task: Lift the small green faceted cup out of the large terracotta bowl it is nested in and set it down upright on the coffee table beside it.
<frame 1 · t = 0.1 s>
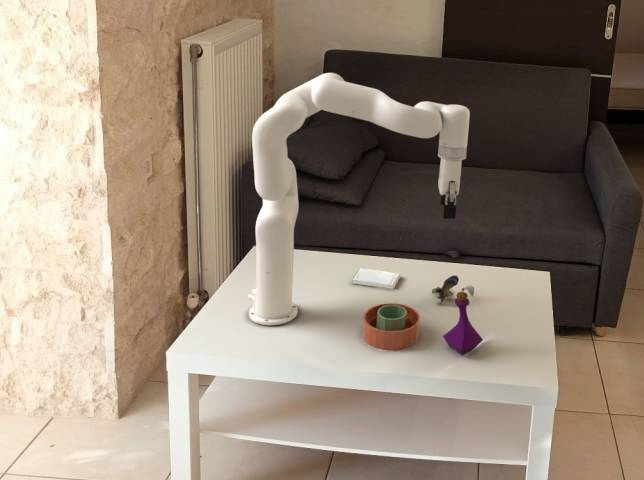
hand: (447, 211, 198), 31 cm above the table, tool pointing down, fingers open, 9 cm apart
terracotta bowl: (390, 336, 192), on the table
hard drive: (376, 281, 221), on the table
eagle figurine: (444, 299, 214), on the table
perfume bottle: (461, 350, 189), on the table
green faceted cup: (390, 334, 192), resting on terracotta bowl
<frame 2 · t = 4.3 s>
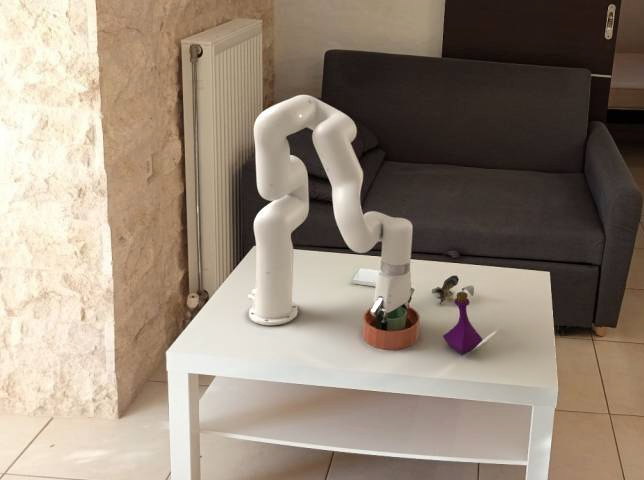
hand: (391, 327, 191), 3 cm above the table, tool pointing down, fingers closed on green faceted cup, 7 cm apart
green faceted cup: (390, 334, 192), point 1 cm above the table, touching gripper, terracotta bowl
everything else where it was.
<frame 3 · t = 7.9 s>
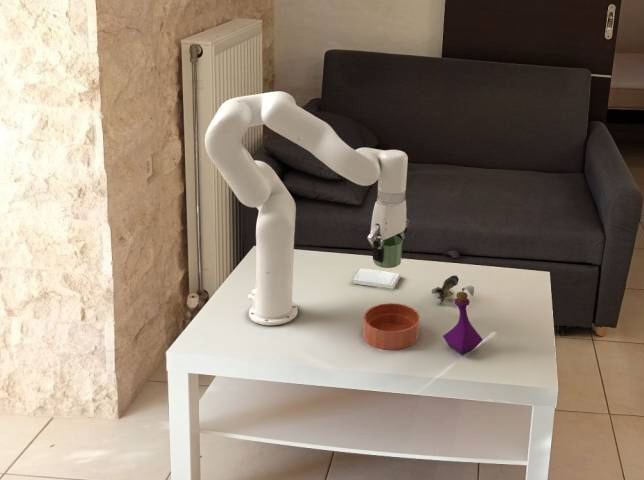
hand: (387, 255, 201), 17 cm above the table, tool pointing down, fingers closed on green faceted cup, 7 cm apart
green faceted cup: (387, 262, 201), point 15 cm above the table, touching gripper
everything else where it was.
when the fingers open (2 cm above the table, at t = 11.7 s): green faceted cup stays where it is, on the table.
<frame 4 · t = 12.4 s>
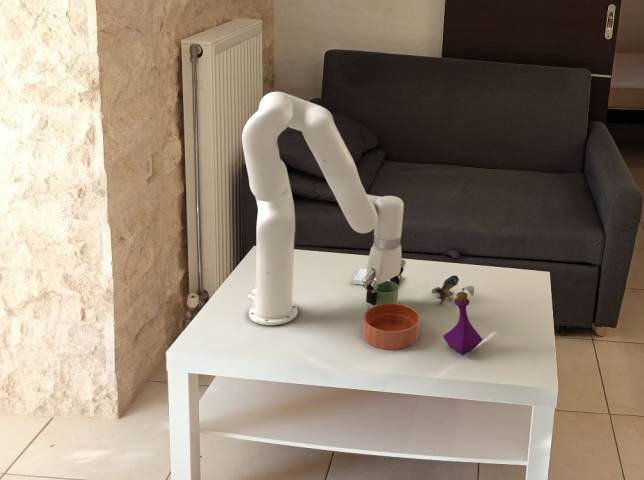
hand: (382, 297, 205), 3 cm above the table, tool pointing down, fingers open, 9 cm apart
green faceted cup: (383, 307, 206), on the table
everything else where it was.
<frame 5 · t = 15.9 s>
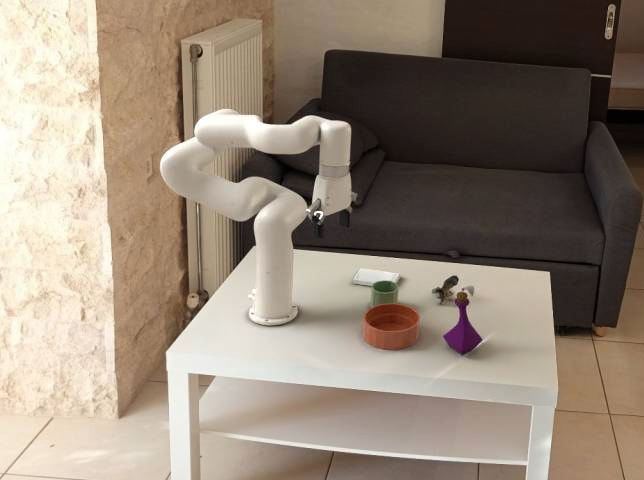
hand: (331, 231, 190), 26 cm above the table, tool pointing down, fingers open, 9 cm apart
nothing on the table moved.
at the end: green faceted cup inside the target area (0.1 cm from its centre), on the table; green faceted cup tilted 0°; the gripper is holding nothing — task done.
